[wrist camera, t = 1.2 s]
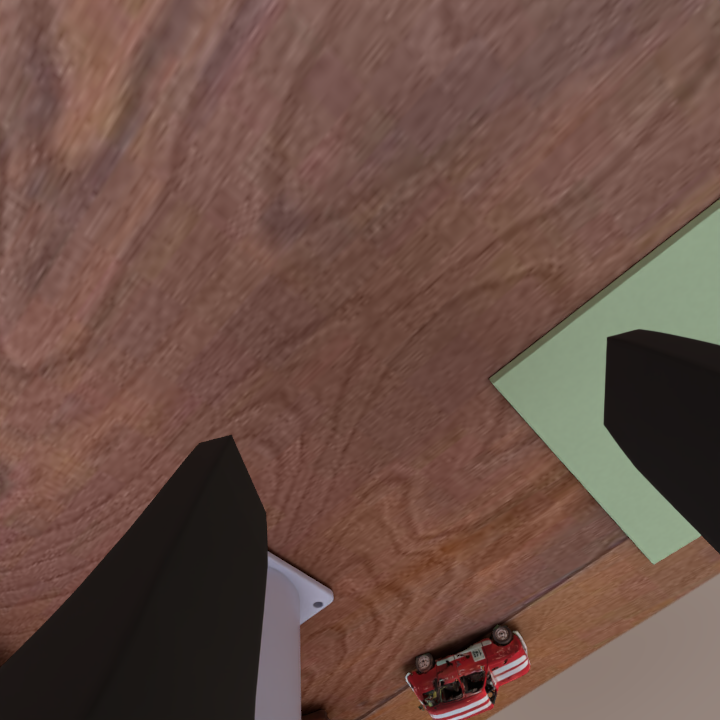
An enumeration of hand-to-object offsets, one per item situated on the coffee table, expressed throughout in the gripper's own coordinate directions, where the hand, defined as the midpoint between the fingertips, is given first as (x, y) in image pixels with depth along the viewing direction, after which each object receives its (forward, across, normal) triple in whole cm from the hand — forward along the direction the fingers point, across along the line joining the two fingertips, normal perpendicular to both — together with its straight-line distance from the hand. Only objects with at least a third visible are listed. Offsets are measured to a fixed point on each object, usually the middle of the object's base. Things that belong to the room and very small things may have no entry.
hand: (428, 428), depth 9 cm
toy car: (+10, -1, +26) cm, 28 cm away
